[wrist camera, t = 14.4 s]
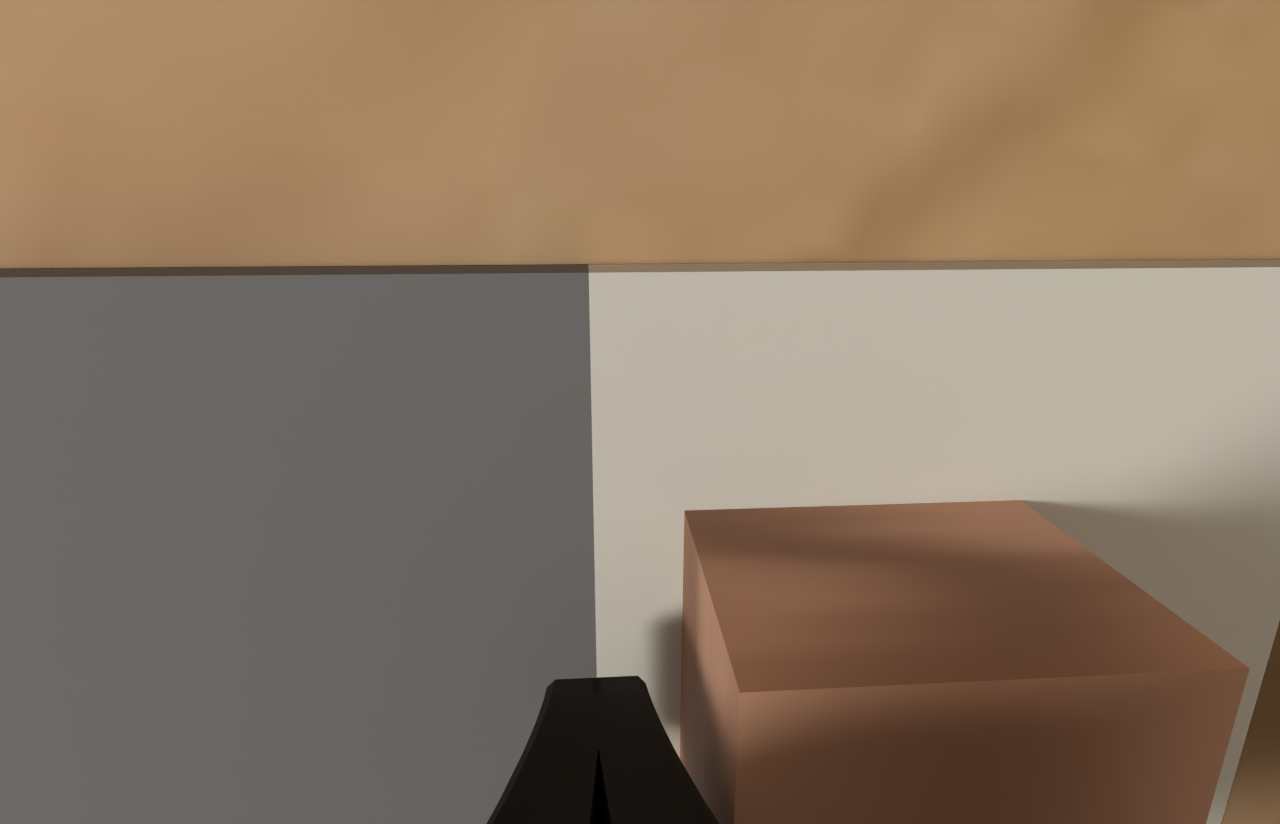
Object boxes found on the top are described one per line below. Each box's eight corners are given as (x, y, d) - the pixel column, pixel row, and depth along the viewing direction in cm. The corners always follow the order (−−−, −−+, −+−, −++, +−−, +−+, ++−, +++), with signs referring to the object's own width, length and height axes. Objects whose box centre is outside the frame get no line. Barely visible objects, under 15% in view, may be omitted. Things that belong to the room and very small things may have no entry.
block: (679, 791, 12) (722, 1069, 8) (684, 510, 11) (739, 693, 7) (975, 774, 13) (1146, 1034, 9) (1019, 500, 11) (1250, 668, 7)
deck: (-60, 908, 13) (-110, 965, 12) (-293, 270, 10) (-387, 280, 9) (1164, 831, 15) (1205, 876, 14) (1315, 258, 11) (1383, 266, 10)
